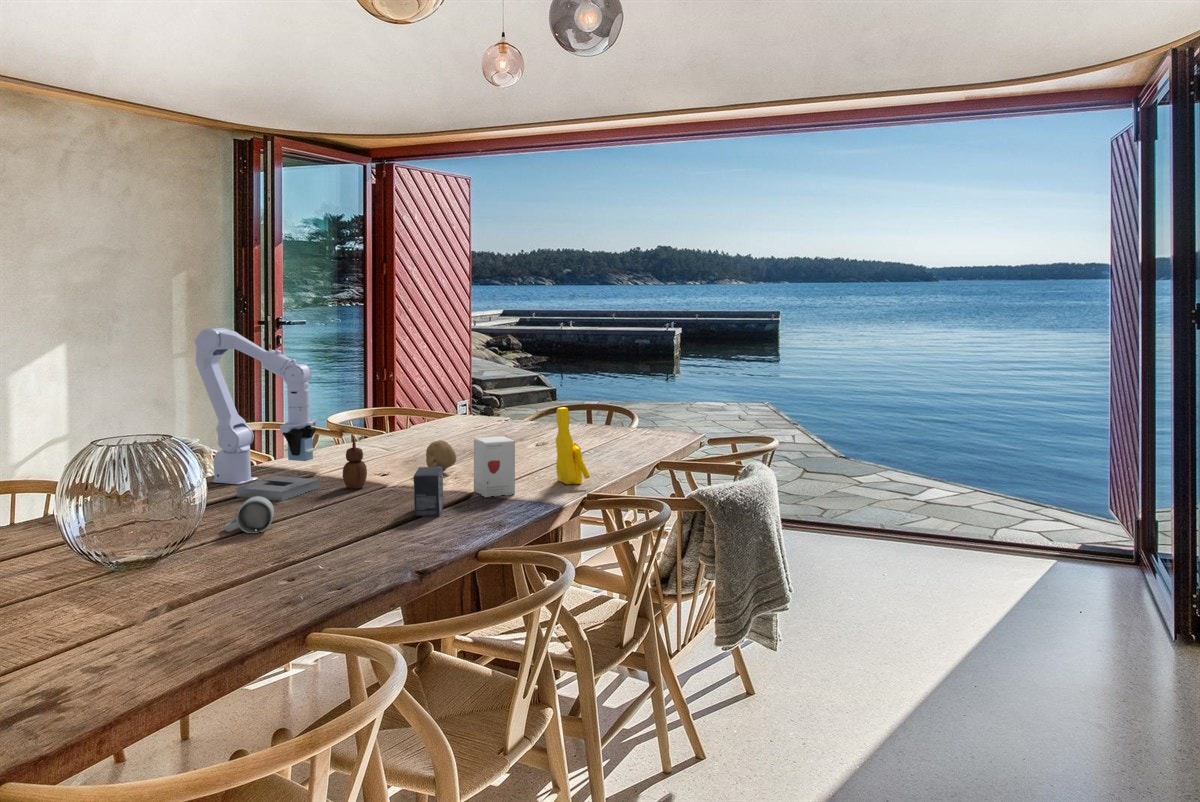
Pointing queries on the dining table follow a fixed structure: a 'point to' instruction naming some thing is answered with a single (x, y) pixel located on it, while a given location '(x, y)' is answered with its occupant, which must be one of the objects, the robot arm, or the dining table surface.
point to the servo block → (303, 450)
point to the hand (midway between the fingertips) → (300, 454)
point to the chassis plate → (278, 488)
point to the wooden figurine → (354, 468)
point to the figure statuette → (568, 452)
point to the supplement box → (494, 466)
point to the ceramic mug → (253, 516)
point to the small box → (428, 491)
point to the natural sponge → (440, 455)
